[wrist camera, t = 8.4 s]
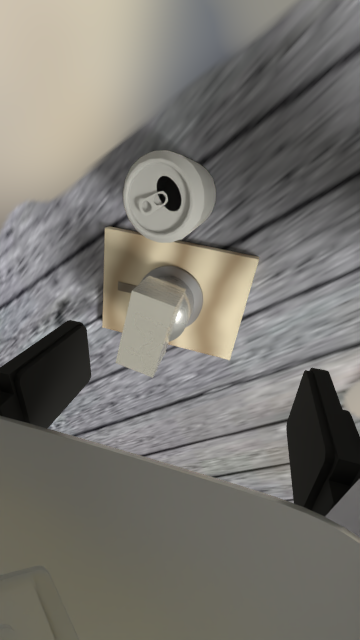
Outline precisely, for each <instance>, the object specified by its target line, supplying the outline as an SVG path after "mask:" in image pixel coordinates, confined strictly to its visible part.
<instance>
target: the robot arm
mask: <svg viewBox="0 0 360 640" xmlns="http://www.w3.org/2000/svg"><path fill="white" fill-rule="evenodd" d="M90 378H91V368H90V358H89V349H88V339H87V330H86V327H85V326H84V325H83V323H81V322H76V321H71V320H69V321H67V322H65V323H64V324H62V325H61V326H60V327H58V328H57V329H55V330H54V331H52V332H51V333H49V334H48V335H47V336H45V337H44V338H42V339H41V340H39V341H38V342H36V343H35V344H34V345H32V346H31V347H29V348H28V349H26V350H25V351H23V352H22V353H21V354H19V355H18V356H16V357H15V358H13V359H12V360H10V361H9V362H8V363H6V364H5V365H3V366H2V367H0V640H360V437H359V434H358V431H357V429H356V426H355V424H354V421H353V419H352V416H351V414H350V412H348V411H346V410H342V407H341V404H340V402H339V399H338V396H337V393H336V391H335V388H334V385H333V382H332V380H331V377H330V374H329V372H328V371H326V370H321V369H315V368H311V369H310V371H306V370H305V371H304V374H303V376H302V379H301V382H300V385H299V388H298V391H297V394H296V397H295V400H294V403H293V406H292V409H291V412H290V415H289V418H288V421H287V439H288V449H289V459H290V469H291V478H292V488H293V498H294V503H291V502H288V501H285V500H283V499H280V498H277V497H274V496H271V495H268V494H265V493H262V492H258V491H255V490H252V489H249V488H246V487H243V486H240V485H236V484H233V483H230V482H227V481H224V480H220V479H217V478H214V477H210V476H207V475H204V474H200V473H197V472H193V471H190V470H187V469H183V468H180V467H177V466H173V465H170V464H167V463H163V462H160V461H157V460H153V459H150V458H147V457H143V456H140V455H136V454H133V453H130V452H126V451H123V450H119V449H116V448H112V447H109V446H106V445H102V444H99V443H95V442H92V441H88V440H85V439H82V438H78V437H75V436H71V435H68V434H64V433H61V432H57V431H54V430H50V429H47V428H48V427H49V426H50V425H51V424H52V423H53V422H54V420H55V419H56V418H57V417H58V416H59V415H60V414H61V412H62V411H63V410H64V409H65V408H66V407H67V406H68V405H69V403H70V402H71V401H72V400H73V399H74V398H75V397H76V396H77V394H78V393H79V392H80V391H81V390H82V389H83V388H84V387H85V385H86V384H87V383H88V382H89V380H90Z"/></svg>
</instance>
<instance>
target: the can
mask: <svg viewBox="0 0 360 640" xmlns="http://www.w3.org/2000/svg"><path fill="white" fill-rule="evenodd" d="M123 201H124V208H125V211H126V213H127V216H128V219H129V221H130V222H131V223H132V225H133V226H134V227H135V229H136V230H137V231H138V232H139V233H141V234H142V235H143V236H145V237H146V238H147V239H150V240H153V241H156V242H159V243H171V242H174V241H177V240H180V239H183V238H184V237H185V236H187V235H188V234H189V233H190V232H192V231H193V230H194V229H196V228H197V227H198V226H199V225H201V224H202V223H203V222H205V221H206V220H207V218H208V217H209V216H210V214H211V213H212V211H213V208H214V205H215V202H216V188H215V185H214V181H213V178H212V177H211V175H210V174H209V172H208V171H207V170H206V169H205V168H204V167H203V166H201V165H200V164H199V163H197V162H195V161H193V160H191V159H188V158H186V157H184V156H182V155H180V154H177V153H174V152H171V151H168V150H163V151H153V152H150V153H148V154H146V155H144V156H142V157H140V158H139V159H138V160H137V161H136V162H135V163H134V164H133V166H132V167H131V168H130V170H129V172H128V174H127V176H126V179H125V183H124V189H123Z"/></svg>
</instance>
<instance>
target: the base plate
mask: <svg viewBox="0 0 360 640" xmlns="http://www.w3.org/2000/svg"><path fill="white" fill-rule="evenodd" d="M258 261H259V257H257V256H252V255H247V254H242V253H237V252H233V251H228V250H223V249H218V248H213V247H208V246H203V245H198V244H194V243H189V242H184V241H179V240H177V241H174V242H171V243H159V242H156V241H153V240H150V239H147V238H146V237H145V236H143V235H142V234H141V233H139V232H135V231H130V230H125V229H121V228H116V227H111V226H109V227H106V228H105V243H104V285H103V326H102V327H103V328H107V329H111V330H115V331H119V332H123V328H124V324H125V319H126V315H127V310H128V306H129V301H130V297H131V292H132V290H133V289H134V288H135V287H136V286H138V285H139V284H140V283H141V282H142V281H143V280H144V279H145V278H147V277H148V276H152V277H154V278H157V277H160V276H173V277H176V278H178V279H180V280H182V281H183V282H184V283H185V284H186V285H187V286H188V287H189V288H190V290H191V292H192V294H193V297H194V308H193V311H192V314H191V316H190V318H189V320H188V322H187V325H186V327H185V329H184V331H183V333H182V334H181V335H180V336H179V337H178V338H176V339H175V340H172V341H170V342H169V343H168V344H170V345H173V346H177V347H181V348H185V349H189V350H193V351H197V352H201V353H205V354H208V355H212V356H216V357H220V358H224V359H228V360H230V357H231V353H232V350H233V347H234V343H235V340H236V336H237V333H238V329H239V326H240V323H241V319H242V316H243V312H244V309H245V306H246V302H247V299H248V295H249V292H250V288H251V285H252V282H253V278H254V275H255V271H256V268H257V264H258Z"/></svg>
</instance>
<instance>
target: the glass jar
mask: <svg viewBox="0 0 360 640" xmlns="http://www.w3.org/2000/svg"><path fill="white" fill-rule="evenodd" d="M193 308H194V297H193V294H192V292H191V290H190V288H189V287H188V286H187V285H186V284H185V283H184V282H183V281H182V280H180V279H178V278H176V277H173V276H160V277H157V278H154V277H152V276H148V277H147V278H145V279H144V280H143V281H142V282H141V283H140V284H139V285H138V286H136V287H135V288H134V289H133V290H132V292H131V297H130V301H129V306H128V310H127V315H126V319H125V324H124V328H123V332H122V337H121V341H120V346H119V350H118V355H117V359H116V363H117V364H120V365H122V366H125V367H127V368H130V369H132V370H135V371H138V372H140V373H143V374H145V375H148V376H150V377H153V376H154V374H155V372H156V370H157V368H158V366H159V364H160V362H161V360H162V358H163V356H164V354H165V352H166V349H167V346H168V343H169V342H170V341H172V340H175V339H176V338H178V337H179V336H180V335H181V334H182V333H183V331H184V329H185V327H186V325H187V322H188V320H189V318H190V316H191V314H192V311H193Z"/></svg>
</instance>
